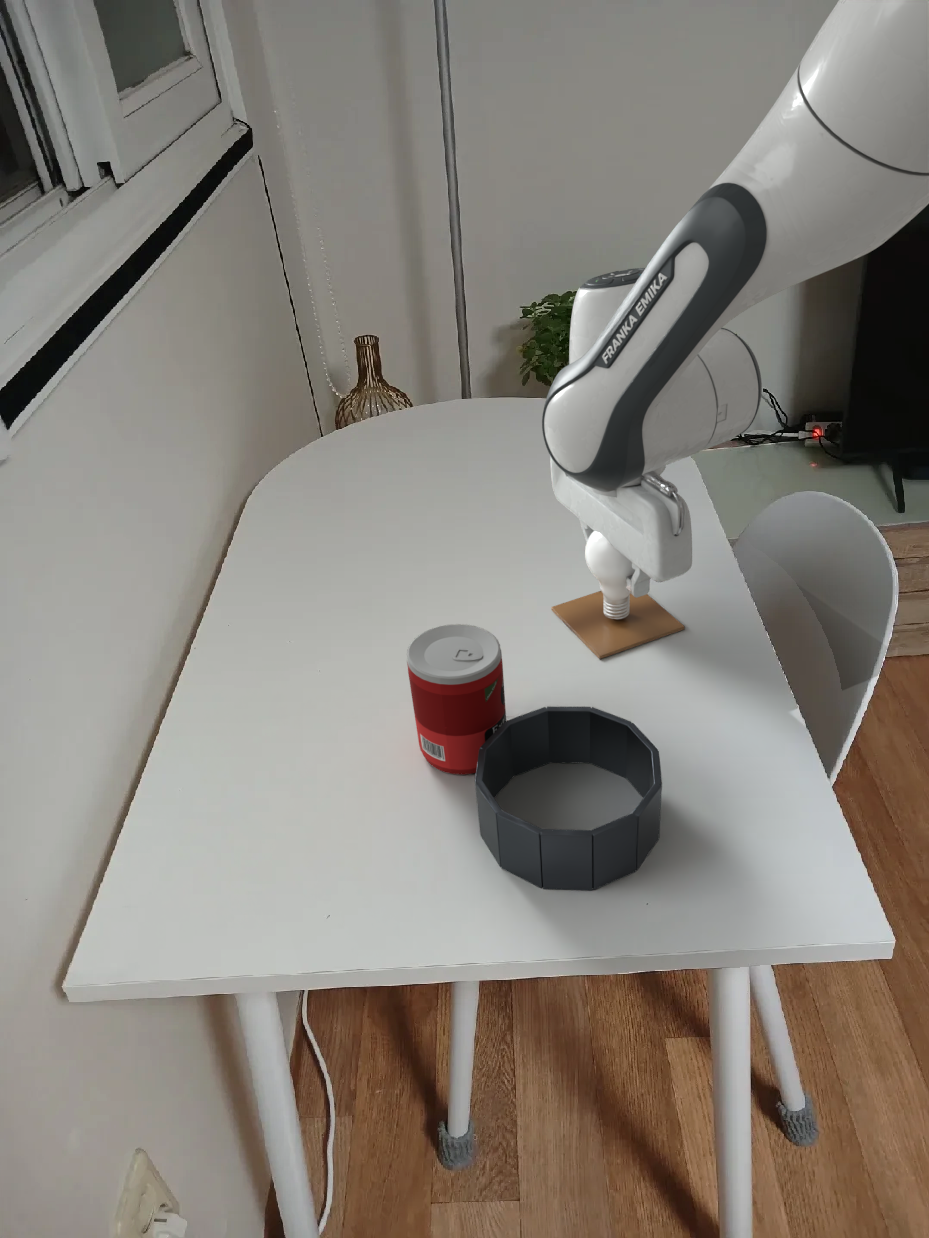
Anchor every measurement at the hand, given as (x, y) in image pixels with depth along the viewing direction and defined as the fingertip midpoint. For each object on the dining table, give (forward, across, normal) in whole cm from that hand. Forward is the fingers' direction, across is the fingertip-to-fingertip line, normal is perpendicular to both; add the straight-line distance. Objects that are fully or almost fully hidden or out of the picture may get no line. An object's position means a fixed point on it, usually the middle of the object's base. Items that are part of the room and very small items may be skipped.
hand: (616, 574), depth 96 cm
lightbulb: (+5, 0, 0) cm, 5 cm away
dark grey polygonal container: (+6, -22, +18) cm, 29 cm away
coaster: (+6, 0, 0) cm, 6 cm away
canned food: (+6, -10, +22) cm, 25 cm away
